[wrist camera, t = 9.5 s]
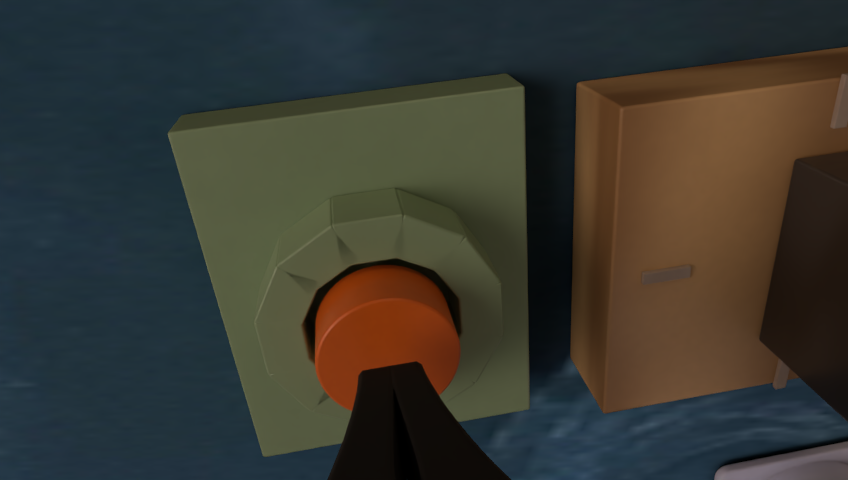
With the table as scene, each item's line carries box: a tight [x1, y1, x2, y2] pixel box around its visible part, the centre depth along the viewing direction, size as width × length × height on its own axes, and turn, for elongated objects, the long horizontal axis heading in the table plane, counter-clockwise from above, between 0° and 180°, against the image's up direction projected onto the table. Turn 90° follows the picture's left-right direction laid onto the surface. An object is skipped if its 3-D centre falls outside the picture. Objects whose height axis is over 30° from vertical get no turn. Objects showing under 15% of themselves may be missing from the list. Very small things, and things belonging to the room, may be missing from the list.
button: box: [315, 265, 461, 411], centre depth 16 cm, size 4×4×2 cm
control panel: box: [570, 47, 848, 413], centre depth 19 cm, size 12×10×3 cm
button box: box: [168, 74, 530, 457], centre depth 18 cm, size 11×9×4 cm
